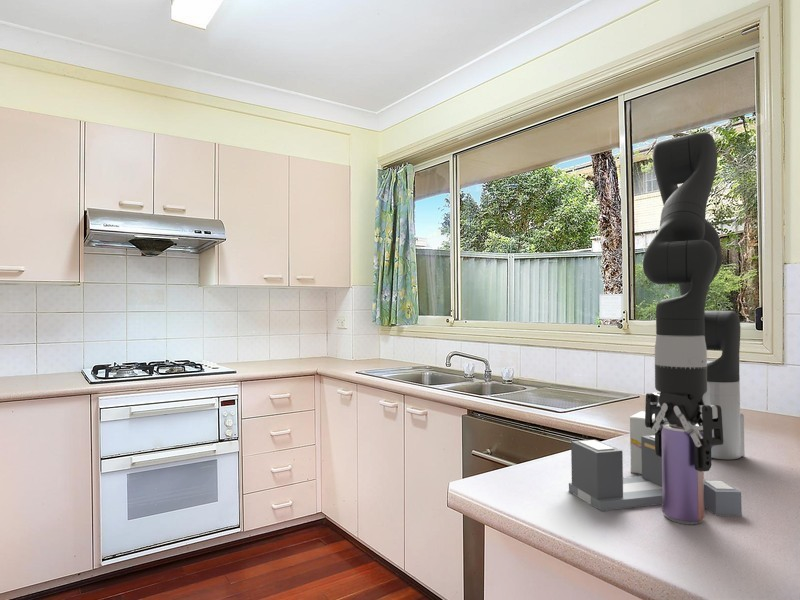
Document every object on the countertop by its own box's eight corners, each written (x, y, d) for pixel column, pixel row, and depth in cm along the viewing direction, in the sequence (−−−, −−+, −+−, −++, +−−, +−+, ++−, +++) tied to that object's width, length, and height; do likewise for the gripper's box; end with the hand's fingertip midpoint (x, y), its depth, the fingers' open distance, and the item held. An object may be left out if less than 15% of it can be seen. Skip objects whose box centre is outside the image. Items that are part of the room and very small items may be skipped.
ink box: (641, 463, 116) (640, 409, 116) (683, 470, 111) (682, 414, 111) (629, 472, 109) (628, 416, 110) (674, 480, 104) (673, 421, 104)
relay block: (698, 502, 93) (698, 478, 93) (722, 503, 93) (722, 479, 93) (716, 516, 87) (715, 490, 87) (741, 516, 87) (741, 490, 87)
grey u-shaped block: (660, 482, 103) (659, 432, 104) (700, 500, 94) (699, 445, 94) (568, 491, 99) (568, 438, 99) (601, 510, 89) (600, 453, 89)
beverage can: (682, 527, 82) (681, 430, 82) (654, 513, 88) (653, 422, 88) (713, 523, 84) (711, 428, 84) (683, 509, 89) (682, 420, 90)
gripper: (736, 366, 80) (738, 474, 80) (668, 358, 94) (669, 450, 94) (694, 368, 78) (696, 478, 78) (631, 359, 92) (632, 453, 92)
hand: (681, 463), depth 86 cm, fingers open, 8 cm apart
